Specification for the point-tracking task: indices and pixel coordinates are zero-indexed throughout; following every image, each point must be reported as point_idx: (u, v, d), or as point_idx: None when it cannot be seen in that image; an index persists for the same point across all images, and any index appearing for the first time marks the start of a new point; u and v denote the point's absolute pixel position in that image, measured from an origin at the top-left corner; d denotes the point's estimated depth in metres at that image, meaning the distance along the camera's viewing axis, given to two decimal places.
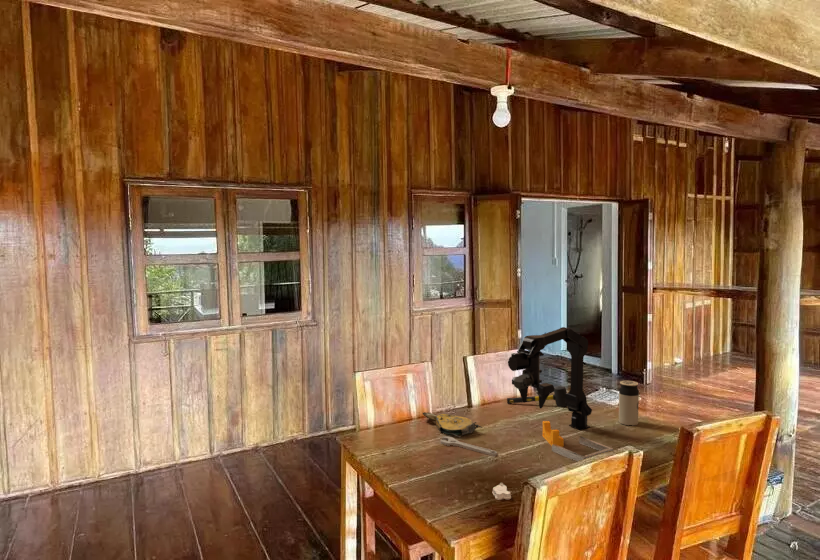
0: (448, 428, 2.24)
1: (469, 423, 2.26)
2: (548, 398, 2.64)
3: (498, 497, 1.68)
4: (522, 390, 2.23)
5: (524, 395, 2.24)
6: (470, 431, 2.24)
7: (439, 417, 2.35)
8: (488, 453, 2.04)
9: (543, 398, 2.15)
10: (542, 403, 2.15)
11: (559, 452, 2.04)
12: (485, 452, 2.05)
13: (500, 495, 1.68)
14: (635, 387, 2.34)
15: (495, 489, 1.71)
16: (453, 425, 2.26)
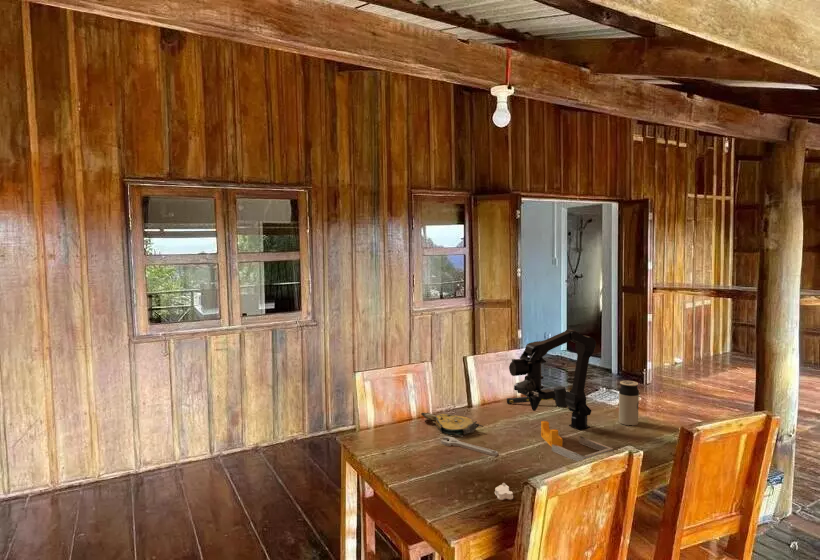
0: (450, 428, 2.24)
1: (470, 422, 2.27)
2: None
3: (500, 497, 1.68)
4: None
5: None
6: (471, 430, 2.25)
7: (439, 417, 2.35)
8: (489, 453, 2.04)
9: (537, 401, 2.24)
10: (536, 406, 2.25)
11: (559, 452, 2.04)
12: (486, 452, 2.05)
13: (502, 495, 1.68)
14: (635, 387, 2.34)
15: (497, 489, 1.71)
16: (454, 425, 2.26)
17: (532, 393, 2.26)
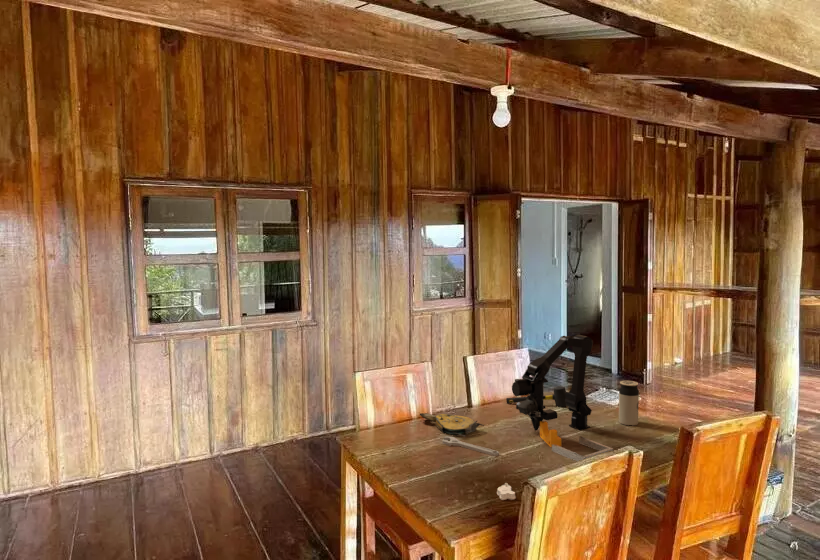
0: (451, 428, 2.25)
1: (471, 422, 2.28)
2: (547, 398, 2.64)
3: (502, 497, 1.68)
4: (533, 418, 2.25)
5: None
6: (473, 430, 2.26)
7: (439, 417, 2.35)
8: (490, 453, 2.04)
9: (538, 421, 2.24)
10: (537, 426, 2.24)
11: (559, 452, 2.04)
12: (487, 452, 2.05)
13: (504, 495, 1.68)
14: (635, 387, 2.34)
15: (499, 489, 1.71)
16: (456, 425, 2.26)
17: (534, 413, 2.26)
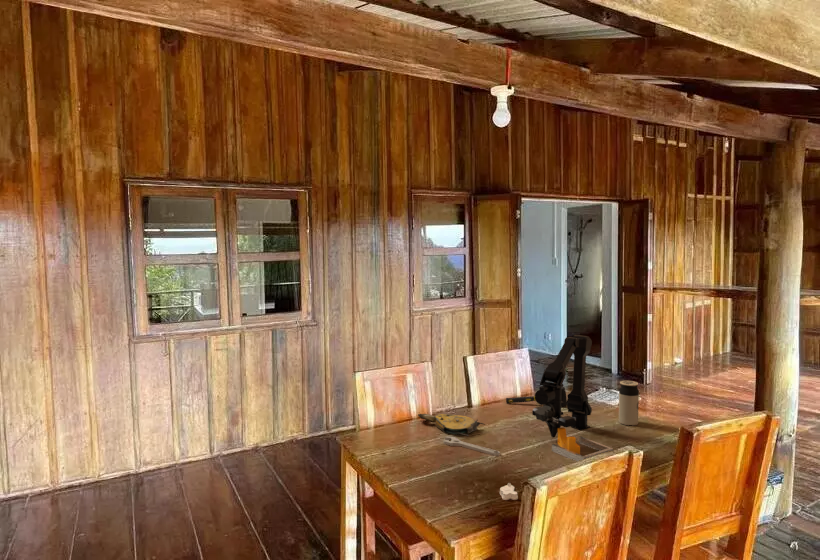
0: (453, 427, 2.25)
1: (472, 421, 2.29)
2: None
3: (505, 497, 1.68)
4: (551, 424, 2.17)
5: None
6: (474, 429, 2.27)
7: (439, 417, 2.35)
8: (491, 453, 2.04)
9: (556, 428, 2.16)
10: (555, 432, 2.16)
11: (559, 452, 2.04)
12: (488, 452, 2.05)
13: (507, 495, 1.68)
14: (635, 387, 2.34)
15: (502, 489, 1.71)
16: (457, 424, 2.27)
17: (551, 419, 2.17)
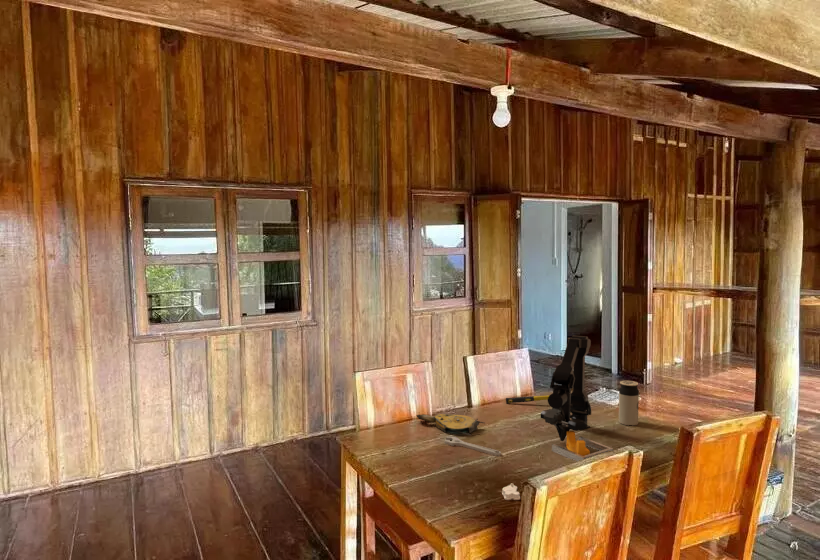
0: (455, 427, 2.25)
1: (472, 420, 2.30)
2: (547, 398, 2.64)
3: (507, 497, 1.68)
4: (560, 428, 2.12)
5: None
6: (475, 428, 2.28)
7: (438, 418, 2.34)
8: (492, 453, 2.04)
9: (565, 431, 2.12)
10: (564, 436, 2.12)
11: (559, 452, 2.04)
12: (489, 452, 2.04)
13: (509, 495, 1.68)
14: (635, 387, 2.34)
15: (504, 489, 1.71)
16: (459, 424, 2.27)
17: (560, 422, 2.13)
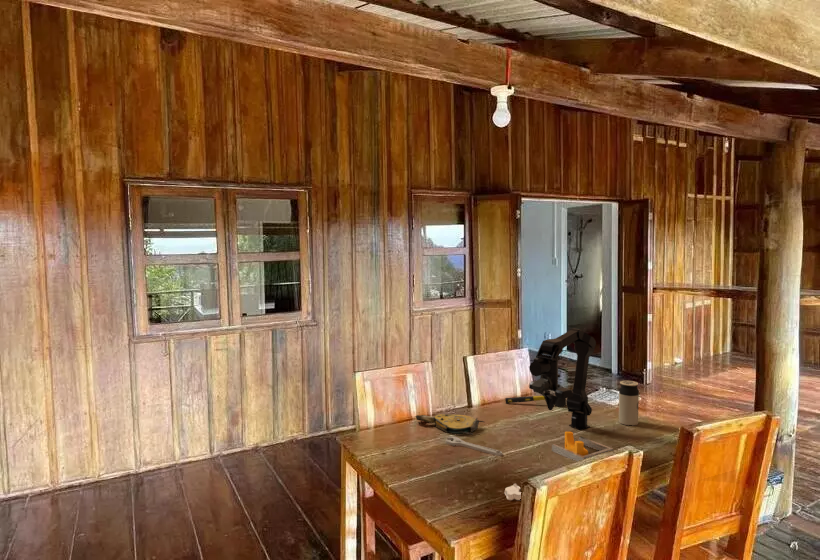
0: (457, 427, 2.26)
1: (473, 419, 2.31)
2: None
3: (509, 497, 1.68)
4: None
5: None
6: (476, 427, 2.29)
7: (438, 418, 2.34)
8: (493, 453, 2.04)
9: (553, 400, 2.17)
10: (552, 405, 2.18)
11: (559, 452, 2.04)
12: (490, 452, 2.04)
13: (511, 495, 1.68)
14: (635, 387, 2.34)
15: (507, 489, 1.71)
16: (460, 423, 2.27)
17: (548, 392, 2.19)
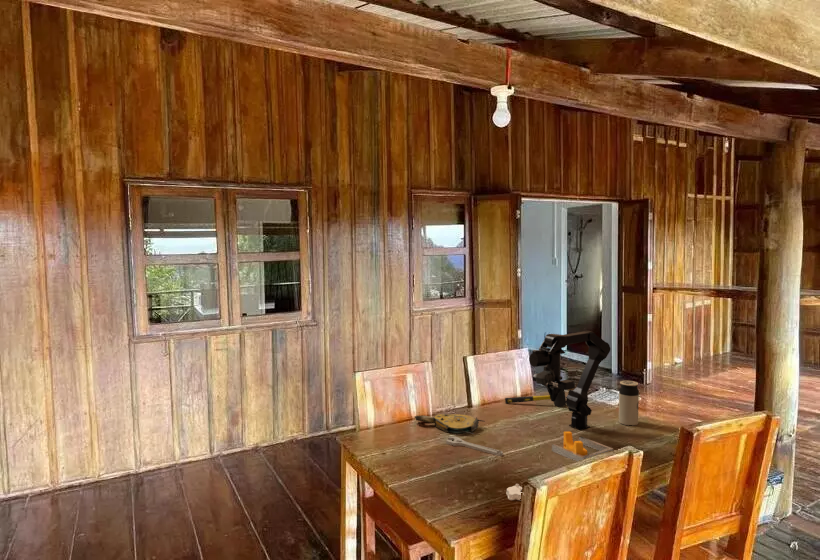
0: (458, 427, 2.26)
1: (473, 419, 2.32)
2: (546, 398, 2.64)
3: (510, 497, 1.68)
4: (550, 389, 2.27)
5: None
6: (476, 426, 2.30)
7: (438, 418, 2.34)
8: (494, 453, 2.04)
9: (556, 392, 2.26)
10: (555, 396, 2.26)
11: (559, 452, 2.04)
12: (491, 452, 2.04)
13: (513, 495, 1.68)
14: (635, 387, 2.34)
15: (509, 489, 1.71)
16: (461, 423, 2.28)
17: (551, 384, 2.28)
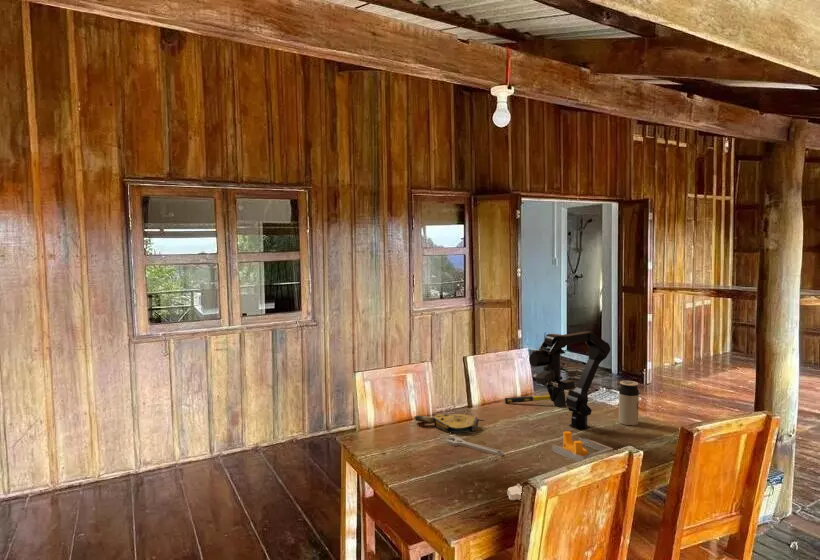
0: (458, 426, 2.26)
1: (473, 418, 2.32)
2: (546, 398, 2.64)
3: (511, 497, 1.68)
4: (550, 389, 2.27)
5: None
6: (476, 426, 2.30)
7: (438, 418, 2.34)
8: (495, 453, 2.04)
9: (556, 392, 2.26)
10: (555, 396, 2.26)
11: (559, 452, 2.04)
12: (492, 452, 2.04)
13: (513, 496, 1.68)
14: (635, 387, 2.34)
15: (510, 489, 1.71)
16: (461, 423, 2.28)
17: (551, 384, 2.28)
